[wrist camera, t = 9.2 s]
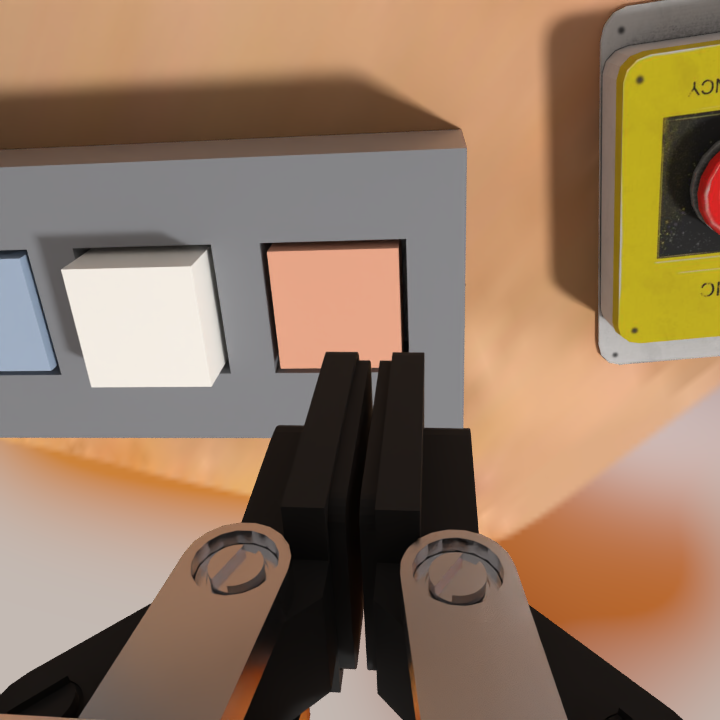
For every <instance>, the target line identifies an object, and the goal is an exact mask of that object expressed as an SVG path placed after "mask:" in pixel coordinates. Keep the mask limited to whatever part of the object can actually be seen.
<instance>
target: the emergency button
mask: <svg viewBox="0 0 720 720" xmlns="http://www.w3.org/2000/svg"><path fill="white" fill-rule="evenodd" d="M598 345H599V349H600V353H601V355H602V356H603V357H604V358H605V359H606V360H607V361H608V362H609V363H614V364H619V365H621V364H632V363H644V362H656V361H668V360H679V359H691V358H703V357H714V356H720V0H662V1H656V2H649V3H643V4H636V5H630V6H626V7H624V8H622V9H619V10H617V11H615V12H613V14H612V15H611V16H610V18H609V19H608V20H607V22H606V23H605V25H604V26H603V31H602V35H601V40H600V117H599V267H598Z"/></svg>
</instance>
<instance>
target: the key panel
mask: <svg viewBox="0 0 720 720" xmlns="http://www.w3.org/2000/svg"><path fill="white" fill-rule="evenodd" d="M466 172H467V147H466V144H465V140H464V137H463V133H462V130H461V129H455V130H432V131H410V132H387V133H365V134H342V135H320V136H297V137H275V138H252V139H230V140H207V141H185V142H162V143H140V144H117V145H95V146H72V147H50V148H28V149H5V150H0V250H27V252H28V256H29V260H30V263H31V267H32V270H33V274H34V278H35V281H36V285H37V288H38V292H39V296H40V299H41V303H42V306H43V310H44V313H45V317H46V321H47V324H48V328H49V331H50V335H51V339H52V342H53V346H54V349H55V353H56V357H57V360H58V365H57V366H56V367H55V368H54V369H53V370H51V371H0V438H272V435H273V432H274V430H275V428H276V426H278V425H304V424H305V421H306V417H307V414H308V411H309V407H310V404H311V400H312V397H313V393H314V390H315V387H316V383H317V380H318V376H319V373H320V369H321V368H293V369H281V366H280V358H279V349H278V341H277V333H276V324H275V316H274V307H273V299H272V291H271V282H270V274H269V265H268V257H267V251H268V249H269V248H270V247H271V245H272V244H273V243H279V242H314V241H349V240H384V239H401V243H402V277H403V311H404V347H403V352H424V354H425V375H424V428H463V406H464V328H465V250H466ZM208 244H211V249H212V255H213V261H214V268H215V274H216V281H217V287H218V294H219V300H220V306H221V313H222V319H223V326H224V332H225V339H226V345H227V351H228V360H227V361H226V363H225V365H224V366H223V368H222V370H221V371H220V373H219V375H218V377H217V378H216V380H215V382H214V383H213V385H212V387H91V384H90V380H89V376H88V372H87V368H86V364H85V361H84V357H83V353H82V349H81V345H80V341H79V337H78V334H77V330H76V326H75V322H74V318H73V314H72V310H71V306H70V303H69V299H68V295H67V291H66V287H65V283H64V279H63V276H62V272H61V269H63V268H64V267H65V266H67V265H68V264H70V263H71V262H73V261H74V260H76V259H77V258H79V257H80V256H81V255H83V254H84V253H86V252H87V251H89V250H90V249H92V248H102V247H137V246H173V245H208ZM378 370H379V368H371V375H372V400H373V405H374V398H375V391H376V384H377V377H378Z"/></svg>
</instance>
